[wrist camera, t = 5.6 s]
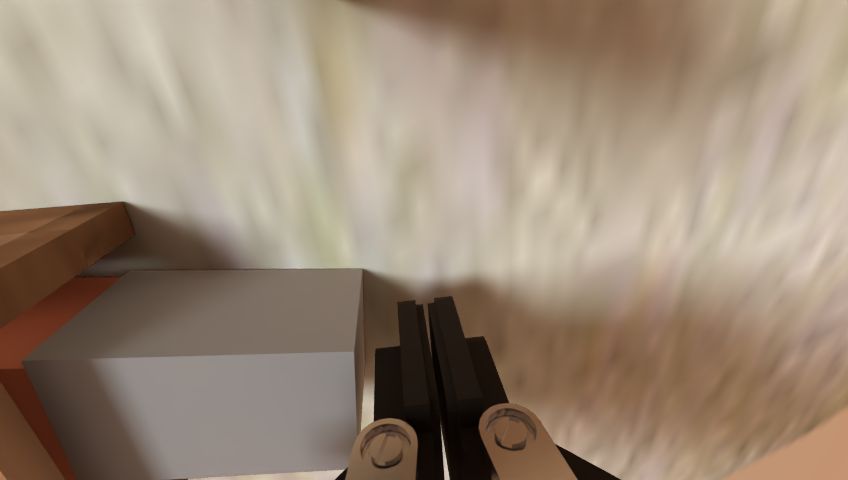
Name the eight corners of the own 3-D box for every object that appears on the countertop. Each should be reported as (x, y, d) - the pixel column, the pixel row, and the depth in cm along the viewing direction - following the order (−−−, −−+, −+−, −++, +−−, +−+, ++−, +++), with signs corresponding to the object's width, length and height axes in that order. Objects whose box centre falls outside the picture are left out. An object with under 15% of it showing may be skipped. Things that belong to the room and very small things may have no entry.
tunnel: (122, 201, 11) (-109, 326, 6) (211, 428, 15) (119, 627, 10) (-92, 219, 11) (-538, 368, 6) (55, 446, 15) (-130, 663, 9)
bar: (362, 268, 13) (353, 351, 9) (364, 365, 14) (358, 468, 11) (129, 270, 12) (20, 360, 8) (160, 372, 14) (79, 484, 10)
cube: (132, 277, 12) (26, 368, 9) (162, 377, 14) (83, 489, 10) (-12, 277, 12) (-187, 374, 8) (36, 381, 13) (-92, 499, 10)
